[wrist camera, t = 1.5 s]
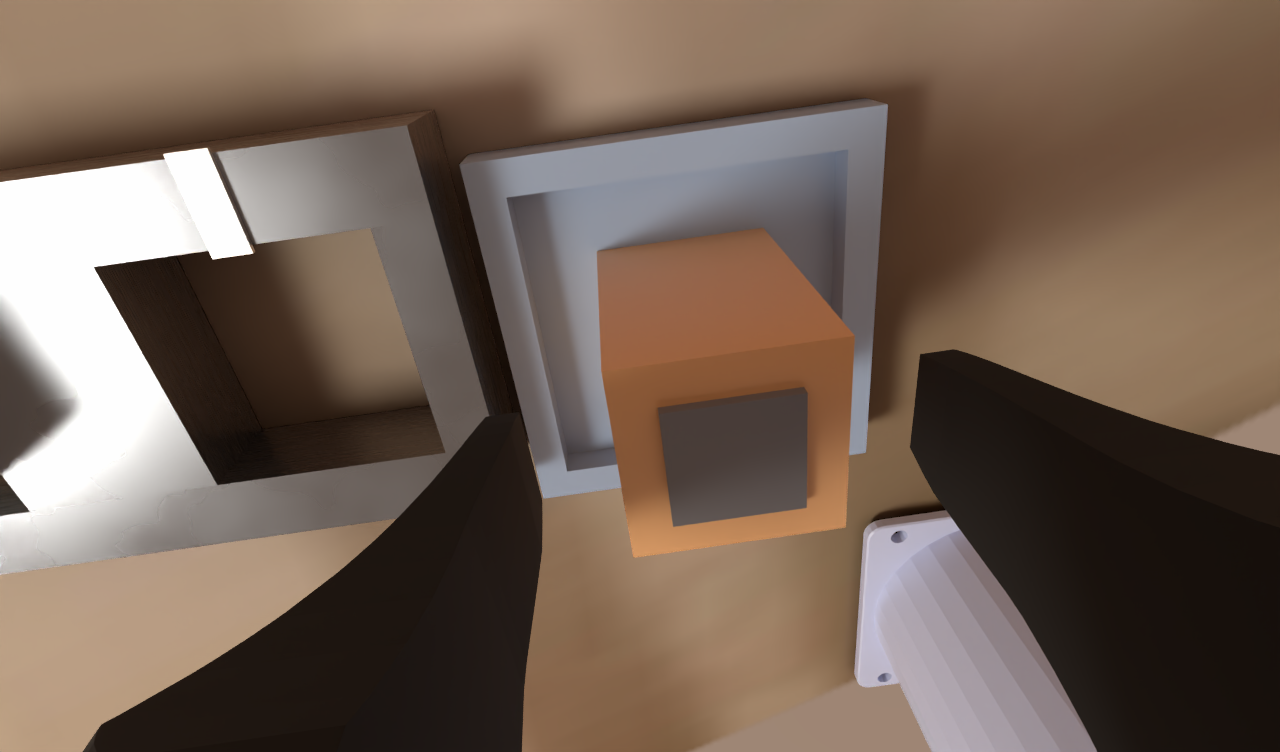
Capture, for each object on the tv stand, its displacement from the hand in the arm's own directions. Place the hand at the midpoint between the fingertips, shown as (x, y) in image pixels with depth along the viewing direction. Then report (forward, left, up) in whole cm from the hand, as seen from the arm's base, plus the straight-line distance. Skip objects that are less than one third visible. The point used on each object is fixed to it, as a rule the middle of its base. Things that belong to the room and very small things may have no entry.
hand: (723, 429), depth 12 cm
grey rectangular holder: (+14, -1, -6) cm, 15 cm away
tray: (0, 0, -6) cm, 6 cm away
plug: (0, 0, -5) cm, 5 cm away
